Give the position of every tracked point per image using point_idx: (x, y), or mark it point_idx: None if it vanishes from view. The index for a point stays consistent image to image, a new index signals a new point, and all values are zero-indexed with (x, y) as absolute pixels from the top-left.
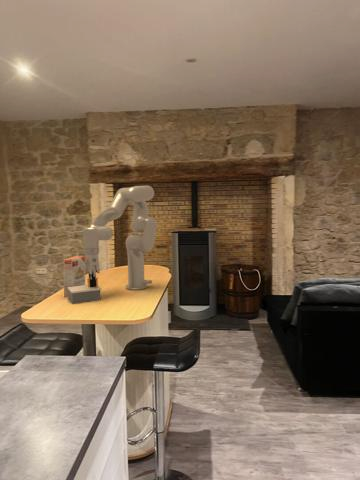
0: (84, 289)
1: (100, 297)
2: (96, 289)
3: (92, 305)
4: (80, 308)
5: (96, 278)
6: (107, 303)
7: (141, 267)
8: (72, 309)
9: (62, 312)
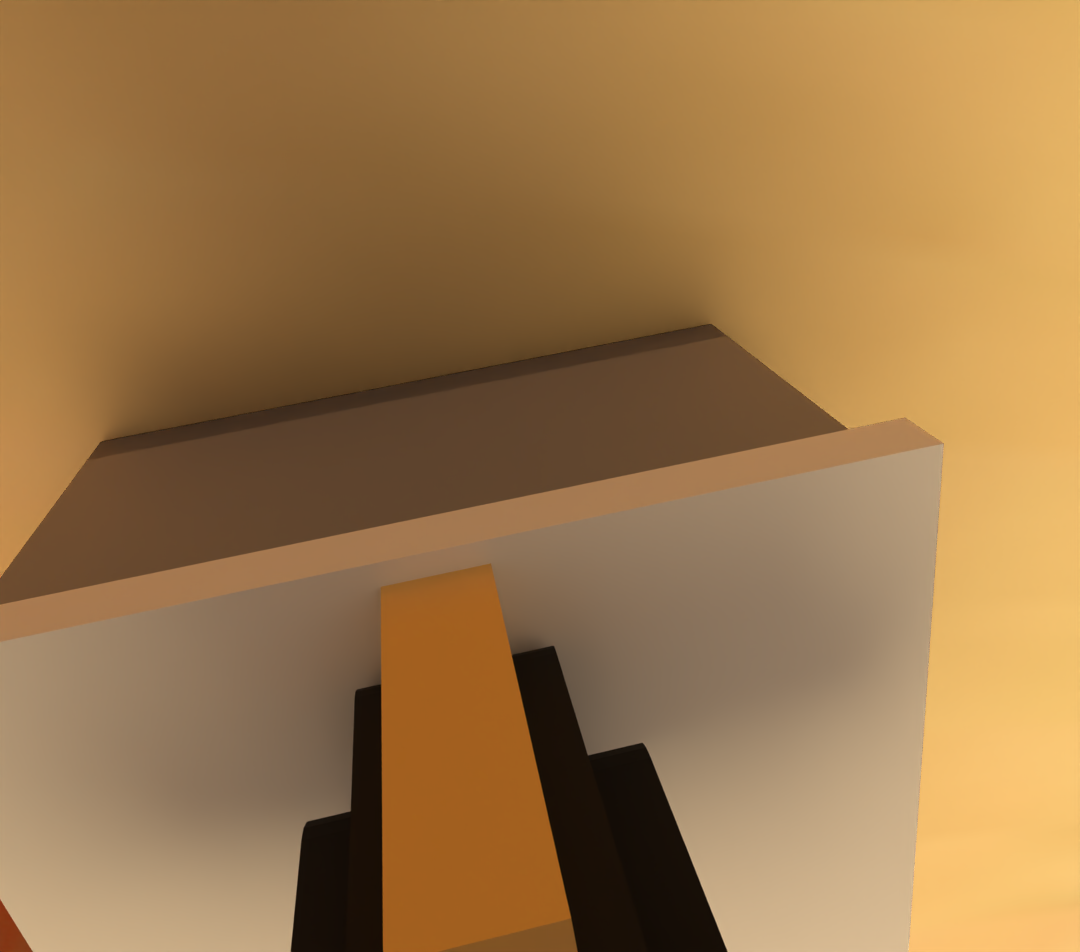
0: (801, 948)
1: (756, 360)
2: (917, 607)
3: (950, 524)
4: (1018, 723)
5: (575, 949)
6: (987, 165)
7: None
8: (996, 829)
9: (1063, 928)
